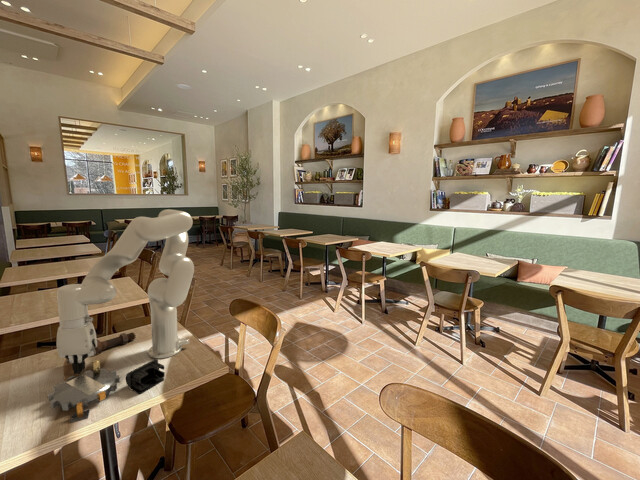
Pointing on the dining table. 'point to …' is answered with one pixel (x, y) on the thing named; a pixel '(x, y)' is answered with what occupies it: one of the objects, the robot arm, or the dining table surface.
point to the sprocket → (84, 388)
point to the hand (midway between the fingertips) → (79, 371)
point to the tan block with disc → (68, 370)
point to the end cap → (145, 377)
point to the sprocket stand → (80, 413)
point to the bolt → (114, 341)
